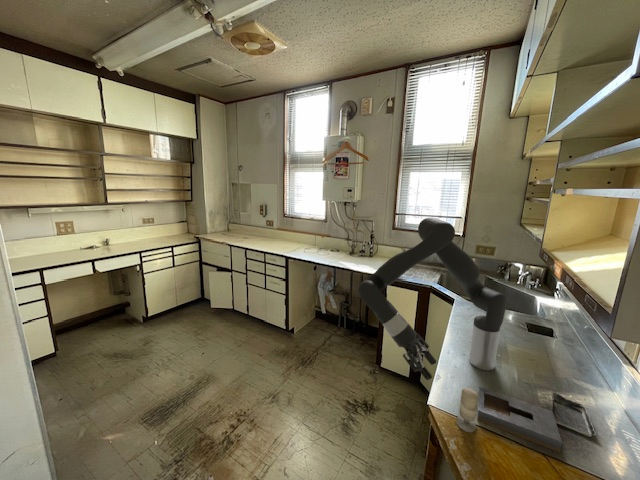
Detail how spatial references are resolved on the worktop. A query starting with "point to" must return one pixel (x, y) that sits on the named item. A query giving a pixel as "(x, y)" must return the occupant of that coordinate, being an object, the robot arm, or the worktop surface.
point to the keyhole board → (519, 418)
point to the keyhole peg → (467, 410)
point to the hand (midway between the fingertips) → (432, 370)
